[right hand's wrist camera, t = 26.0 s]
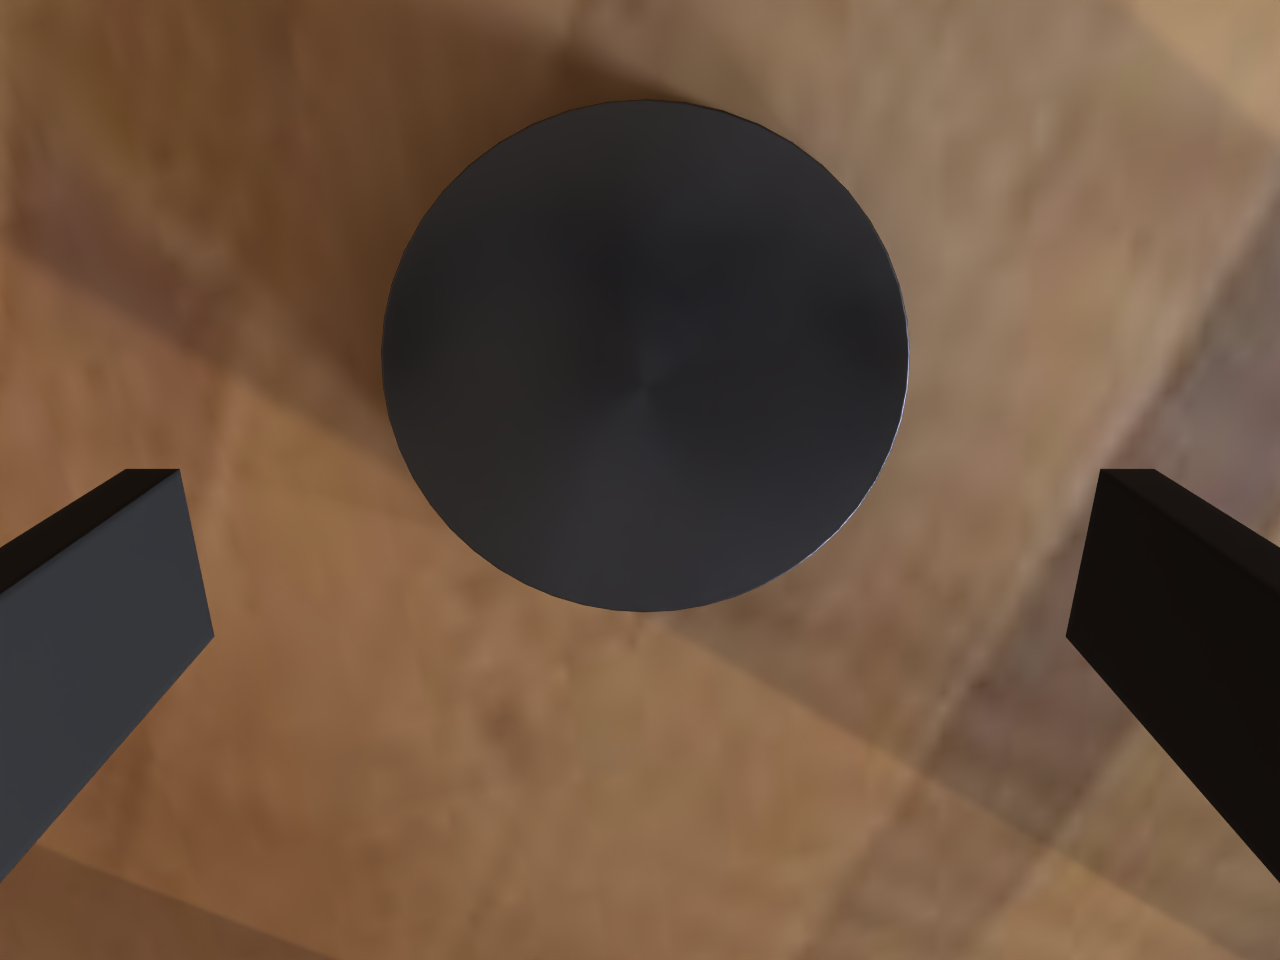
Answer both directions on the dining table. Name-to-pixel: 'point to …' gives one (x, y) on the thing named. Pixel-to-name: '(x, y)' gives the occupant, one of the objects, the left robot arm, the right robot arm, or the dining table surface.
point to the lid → (645, 355)
